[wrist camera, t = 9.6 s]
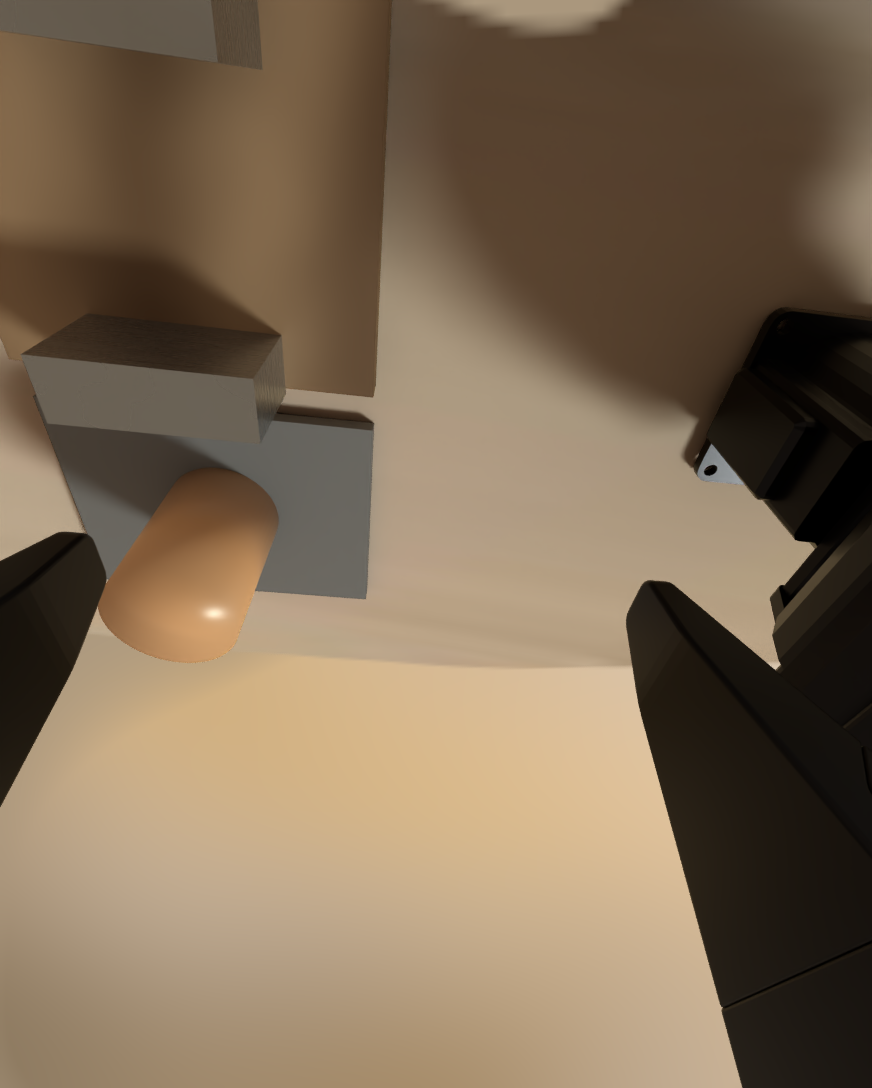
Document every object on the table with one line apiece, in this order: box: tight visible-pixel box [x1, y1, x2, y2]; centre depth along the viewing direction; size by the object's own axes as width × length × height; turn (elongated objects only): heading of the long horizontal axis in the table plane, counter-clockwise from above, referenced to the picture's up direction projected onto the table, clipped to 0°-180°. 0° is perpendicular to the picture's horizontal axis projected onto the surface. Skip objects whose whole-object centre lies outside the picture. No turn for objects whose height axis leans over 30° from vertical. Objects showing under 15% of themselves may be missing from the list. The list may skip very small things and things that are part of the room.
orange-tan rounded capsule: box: [98, 468, 279, 663], centre depth 20 cm, size 4×4×6 cm
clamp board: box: [0, 0, 392, 397], centre depth 15 cm, size 12×10×1 cm
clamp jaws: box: [0, 0, 286, 444], centre depth 13 cm, size 6×10×4 cm, turn 174°
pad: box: [33, 395, 374, 599], centre depth 22 cm, size 12×9×1 cm
